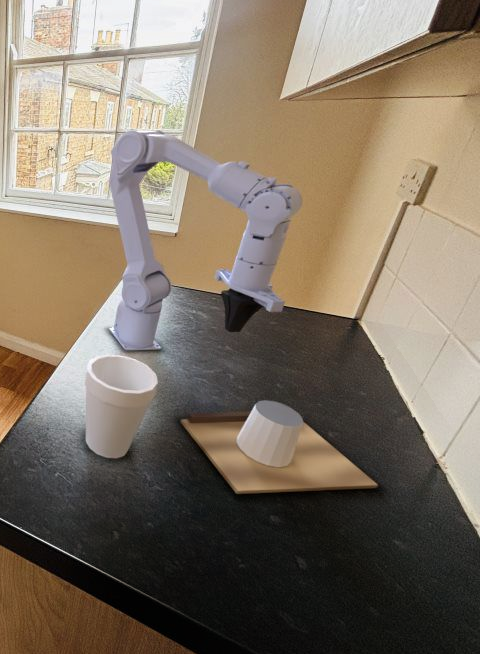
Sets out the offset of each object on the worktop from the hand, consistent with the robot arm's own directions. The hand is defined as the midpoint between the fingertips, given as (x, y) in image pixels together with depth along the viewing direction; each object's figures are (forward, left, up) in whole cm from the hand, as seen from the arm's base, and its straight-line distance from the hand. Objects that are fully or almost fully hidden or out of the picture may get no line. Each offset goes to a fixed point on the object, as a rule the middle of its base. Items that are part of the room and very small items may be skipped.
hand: (232, 330), depth 74 cm
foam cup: (+16, -28, -11) cm, 34 cm away
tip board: (+19, -4, -10) cm, 22 cm away
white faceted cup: (+19, -5, -3) cm, 20 cm away
